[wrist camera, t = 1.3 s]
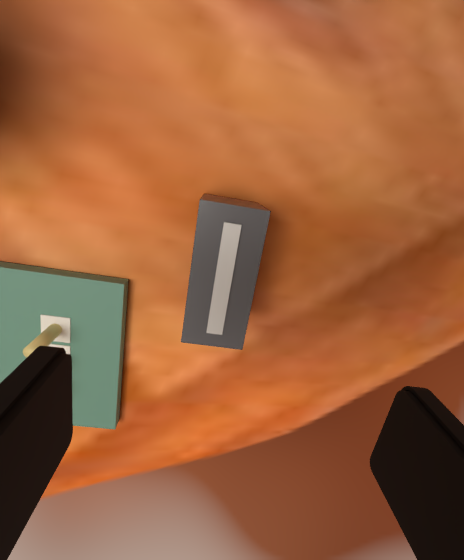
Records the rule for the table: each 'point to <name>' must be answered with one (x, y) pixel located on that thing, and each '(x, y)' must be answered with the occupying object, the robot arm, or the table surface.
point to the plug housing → (224, 270)
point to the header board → (68, 332)
